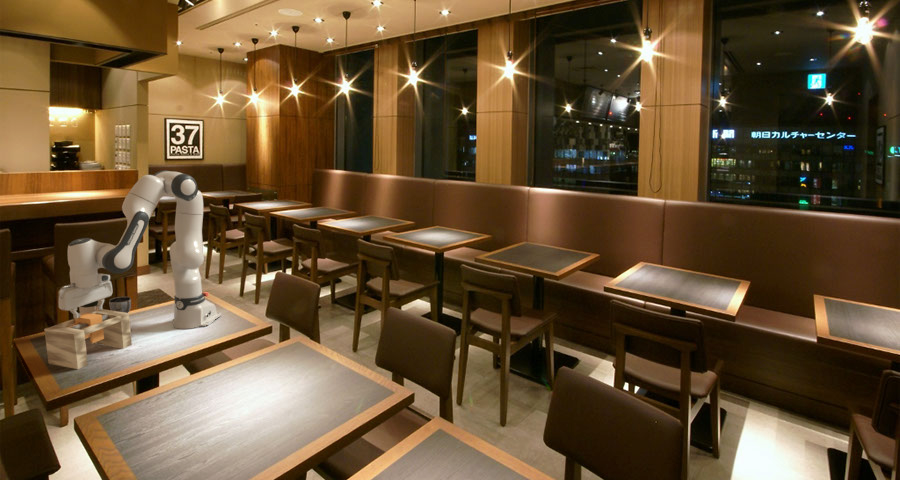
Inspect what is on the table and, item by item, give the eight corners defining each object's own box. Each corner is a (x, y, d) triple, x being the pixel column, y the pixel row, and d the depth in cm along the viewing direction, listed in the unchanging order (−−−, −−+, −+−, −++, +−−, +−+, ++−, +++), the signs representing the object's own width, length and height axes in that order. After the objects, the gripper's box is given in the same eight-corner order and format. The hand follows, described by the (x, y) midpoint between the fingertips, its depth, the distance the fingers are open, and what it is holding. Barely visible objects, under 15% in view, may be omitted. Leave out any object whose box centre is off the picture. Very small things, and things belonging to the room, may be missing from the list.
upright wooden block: (89, 336, 205) (86, 312, 203) (104, 338, 203) (101, 315, 201) (77, 340, 200) (74, 316, 198) (92, 343, 199) (90, 319, 197)
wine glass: (137, 329, 229) (134, 297, 226) (124, 335, 221) (121, 303, 218) (121, 327, 230) (118, 296, 227) (107, 334, 222) (104, 301, 219)
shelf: (104, 340, 216) (101, 309, 213) (131, 344, 213) (129, 313, 210) (48, 363, 193) (44, 329, 190) (77, 369, 190) (74, 334, 187)
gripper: (65, 288, 186) (69, 324, 189) (113, 274, 206) (117, 306, 209) (51, 286, 188) (56, 322, 191) (101, 272, 207) (104, 304, 210)
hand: (88, 313), depth 200 cm, fingers open, 8 cm apart
